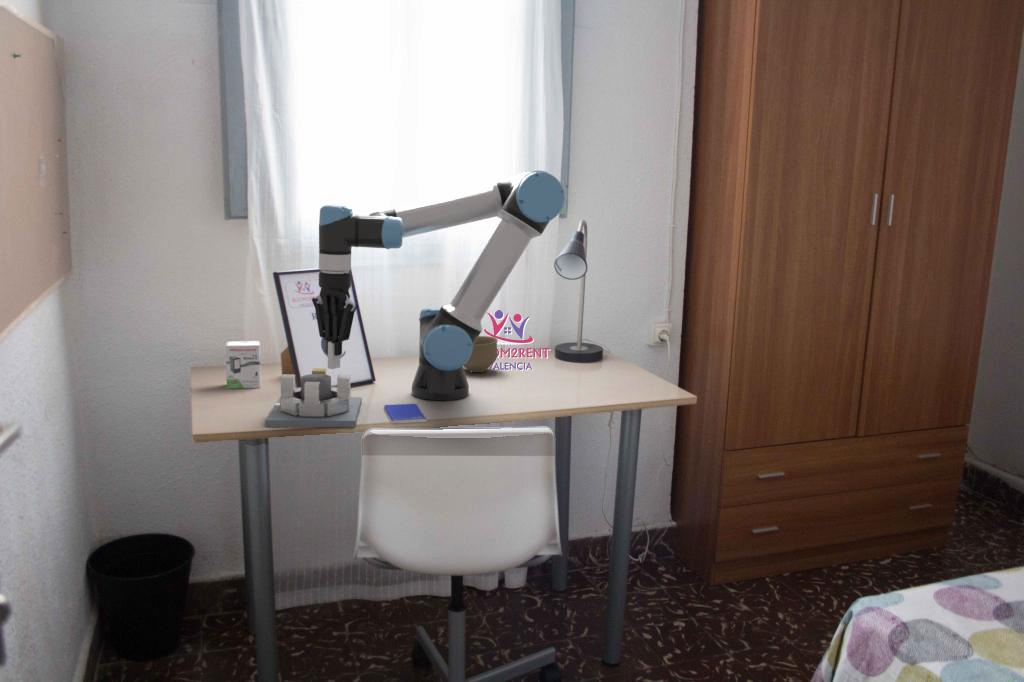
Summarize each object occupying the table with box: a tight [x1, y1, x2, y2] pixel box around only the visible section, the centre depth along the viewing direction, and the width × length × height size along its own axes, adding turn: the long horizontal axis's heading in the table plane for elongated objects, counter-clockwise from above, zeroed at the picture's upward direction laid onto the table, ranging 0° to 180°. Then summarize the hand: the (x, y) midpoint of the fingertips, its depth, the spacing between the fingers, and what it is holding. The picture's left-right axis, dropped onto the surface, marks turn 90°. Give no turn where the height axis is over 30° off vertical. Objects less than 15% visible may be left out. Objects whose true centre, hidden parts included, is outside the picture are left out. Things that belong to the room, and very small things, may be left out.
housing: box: [264, 373, 363, 428], centre depth 195 cm, size 20×20×9 cm
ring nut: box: [279, 367, 352, 417], centre depth 195 cm, size 16×16×8 cm
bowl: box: [463, 335, 498, 373], centre depth 243 cm, size 13×13×10 cm
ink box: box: [225, 340, 261, 390], centre depth 216 cm, size 9×5×12 cm, turn 107°
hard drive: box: [383, 403, 427, 425], centre depth 198 cm, size 2×8×12 cm
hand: (333, 367), depth 199 cm, fingers closed
